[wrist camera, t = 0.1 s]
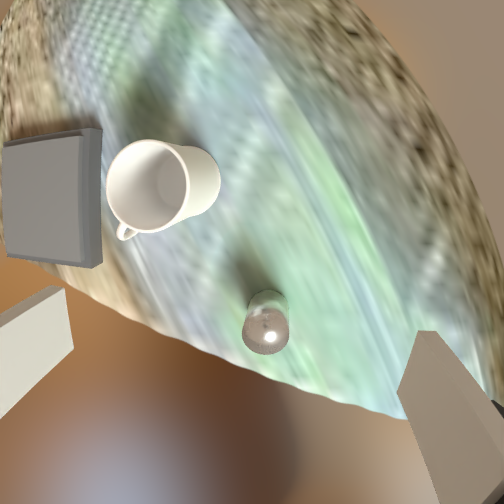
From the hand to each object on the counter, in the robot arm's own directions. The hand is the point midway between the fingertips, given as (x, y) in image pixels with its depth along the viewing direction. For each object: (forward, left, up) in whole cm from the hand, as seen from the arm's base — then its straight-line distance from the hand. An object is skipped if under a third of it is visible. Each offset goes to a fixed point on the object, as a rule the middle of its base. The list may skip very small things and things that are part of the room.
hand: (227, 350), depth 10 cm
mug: (-3, -11, -28) cm, 30 cm away
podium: (-2, -31, -28) cm, 42 cm away
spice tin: (+11, +1, -28) cm, 30 cm away
